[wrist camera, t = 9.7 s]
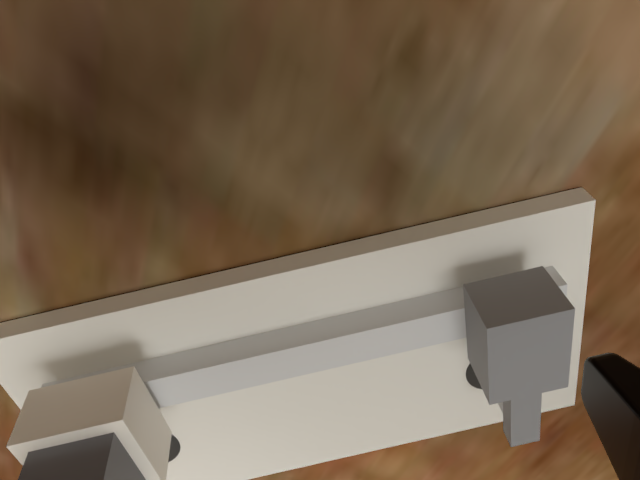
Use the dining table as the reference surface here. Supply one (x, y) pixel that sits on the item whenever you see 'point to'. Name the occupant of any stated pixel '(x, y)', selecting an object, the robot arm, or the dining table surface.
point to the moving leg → (92, 431)
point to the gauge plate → (341, 341)
